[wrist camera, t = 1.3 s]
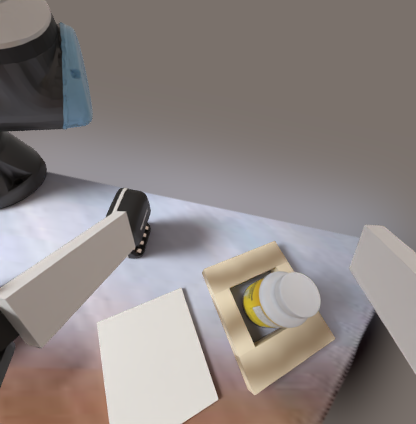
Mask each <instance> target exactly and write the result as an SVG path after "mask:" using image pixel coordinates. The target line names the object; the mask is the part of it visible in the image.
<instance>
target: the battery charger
mask: <svg viewBox="0 0 416 424" xmlns="http://www.w3.org/2000/svg"><path fill="white" fill-rule="evenodd" d="M115 211H124V212H126V213H127V217H128V220H129V224H130V228H131V232H132V235H133V239H134V243H135V248H134V249H133V250H132V252H131V253H130V254H129V255H128V256H127V257H126V258H139V257H141V256H142V255H143V253H144V250H145V247H146V244H147V240H148V237H149V234H150V229H151V228H150V225H149V224H148V223H147V221H148V219H149V216H150V212H151V209H150V205H149V201H148V198H147V196H146V195H145V193H143V192H141V191H137V190H131V189H129V188H121V189H119V190H118V192H117V193H116V195H115V197H114V200H113V202H112V204H111V206H110V208H109V210H108V213H107V215H106V217H108V216H109V215H111V214H112V213H114V212H115ZM106 217H105V218H106Z"/></svg>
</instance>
